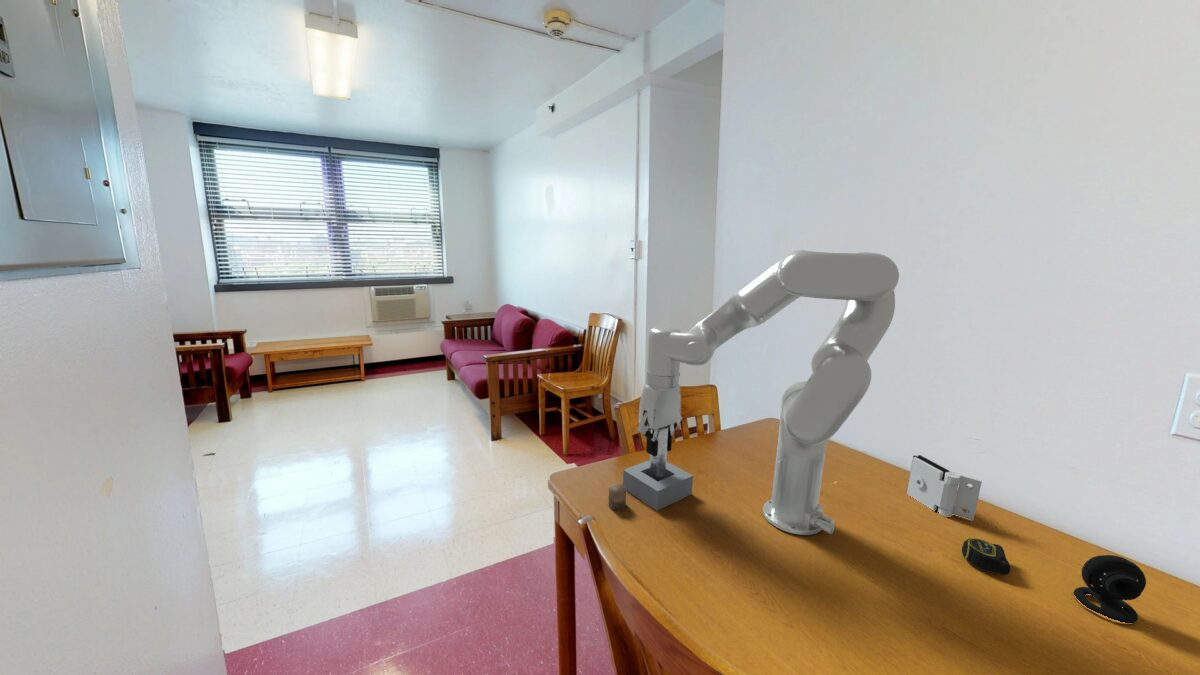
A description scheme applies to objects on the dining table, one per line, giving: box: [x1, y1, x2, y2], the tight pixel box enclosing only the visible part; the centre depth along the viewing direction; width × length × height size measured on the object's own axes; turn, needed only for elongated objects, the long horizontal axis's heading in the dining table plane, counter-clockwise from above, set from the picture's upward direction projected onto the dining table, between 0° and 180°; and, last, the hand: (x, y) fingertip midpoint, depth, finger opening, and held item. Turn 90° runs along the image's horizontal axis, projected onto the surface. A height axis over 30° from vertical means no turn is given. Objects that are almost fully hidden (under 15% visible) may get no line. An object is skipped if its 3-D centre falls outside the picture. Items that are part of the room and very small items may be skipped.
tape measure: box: [961, 537, 1011, 576], centre depth 88 cm, size 7×7×4 cm
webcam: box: [1073, 554, 1147, 624], centre depth 77 cm, size 8×8×10 cm
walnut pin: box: [608, 483, 627, 512], centre depth 105 cm, size 4×4×4 cm
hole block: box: [622, 459, 694, 511], centre depth 111 cm, size 12×12×5 cm
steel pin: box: [649, 426, 668, 477], centre depth 110 cm, size 4×4×12 cm
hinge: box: [906, 454, 983, 521], centre depth 106 cm, size 14×5×10 cm, turn 23°
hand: (658, 450), depth 110 cm, fingers closed on steel pin, 4 cm apart
